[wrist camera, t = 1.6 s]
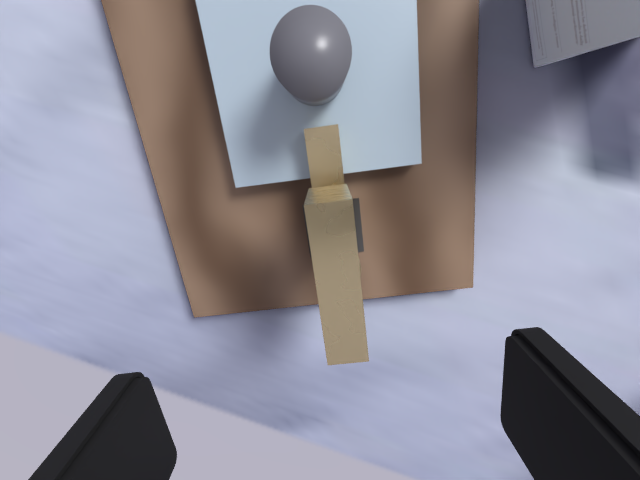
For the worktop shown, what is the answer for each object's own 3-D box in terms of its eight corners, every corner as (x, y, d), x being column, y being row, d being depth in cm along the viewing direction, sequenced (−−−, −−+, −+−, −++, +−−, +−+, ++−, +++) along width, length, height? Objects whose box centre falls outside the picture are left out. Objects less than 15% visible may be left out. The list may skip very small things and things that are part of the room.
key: (339, 124, 21) (350, 120, 12) (356, 278, 24) (372, 360, 16) (303, 129, 21) (287, 129, 12) (324, 281, 25) (323, 365, 16)
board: (469, -98, 19) (482, -119, 17) (464, 278, 26) (473, 288, 25) (104, -35, 20) (86, -48, 18) (200, 307, 27) (193, 318, 26)
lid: (407, -58, 18) (450, -155, 12) (415, 161, 22) (450, 173, 16) (198, -23, 19) (135, -97, 13) (241, 184, 23) (209, 204, 16)
